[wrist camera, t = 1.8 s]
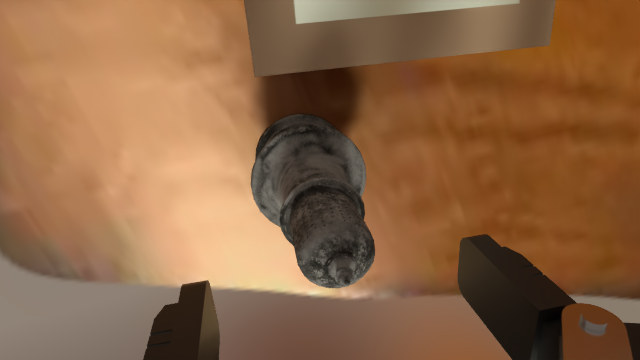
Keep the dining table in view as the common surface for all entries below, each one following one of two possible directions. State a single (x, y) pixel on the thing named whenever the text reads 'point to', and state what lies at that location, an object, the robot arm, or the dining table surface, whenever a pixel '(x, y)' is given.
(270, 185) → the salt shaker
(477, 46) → the base block
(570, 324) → the robot arm
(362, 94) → the dining table surface
